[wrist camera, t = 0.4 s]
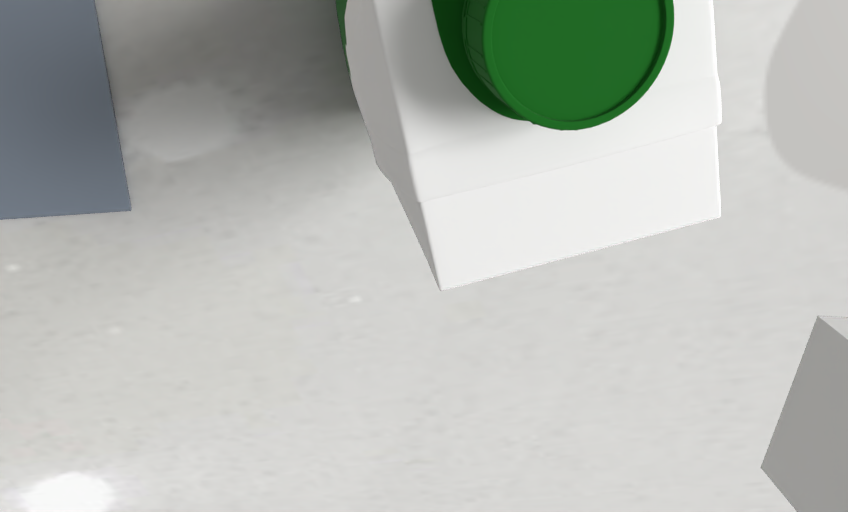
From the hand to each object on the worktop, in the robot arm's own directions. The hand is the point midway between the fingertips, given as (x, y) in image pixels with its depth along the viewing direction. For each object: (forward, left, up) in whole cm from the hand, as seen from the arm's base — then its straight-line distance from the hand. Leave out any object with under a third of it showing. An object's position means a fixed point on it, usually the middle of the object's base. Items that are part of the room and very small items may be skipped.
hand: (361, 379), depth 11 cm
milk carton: (-1, +5, -27) cm, 27 cm away
